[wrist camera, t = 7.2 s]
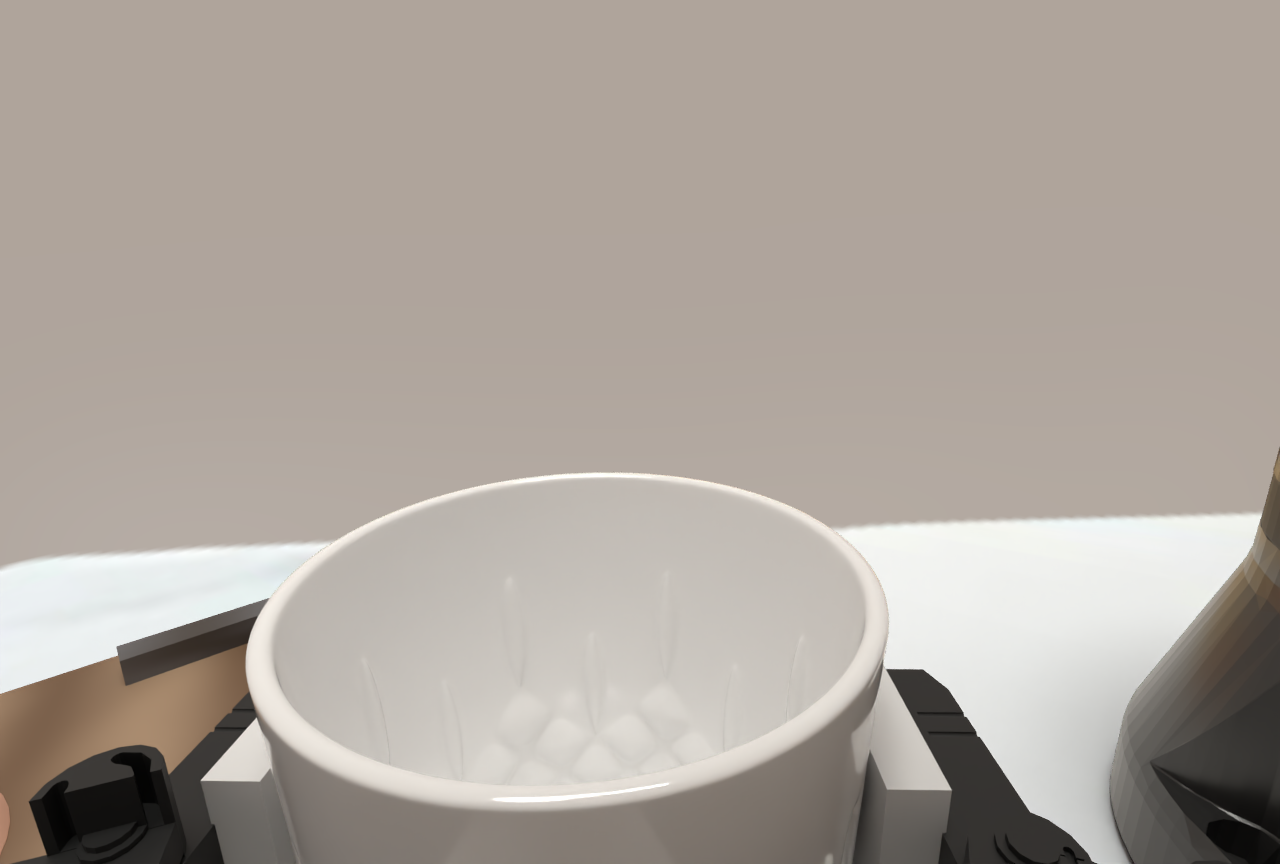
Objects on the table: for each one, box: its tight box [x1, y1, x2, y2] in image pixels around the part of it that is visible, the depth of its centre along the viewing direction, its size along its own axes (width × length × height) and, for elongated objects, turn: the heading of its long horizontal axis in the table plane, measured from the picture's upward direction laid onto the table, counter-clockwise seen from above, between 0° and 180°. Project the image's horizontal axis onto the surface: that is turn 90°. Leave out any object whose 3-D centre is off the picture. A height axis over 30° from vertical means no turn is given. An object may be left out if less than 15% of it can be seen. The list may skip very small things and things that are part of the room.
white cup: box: [246, 472, 889, 864], centre depth 10 cm, size 8×8×10 cm
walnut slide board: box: [0, 598, 269, 864], centre depth 17 cm, size 22×15×2 cm
